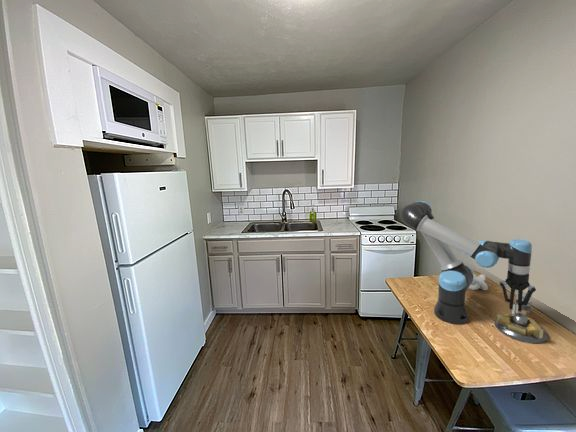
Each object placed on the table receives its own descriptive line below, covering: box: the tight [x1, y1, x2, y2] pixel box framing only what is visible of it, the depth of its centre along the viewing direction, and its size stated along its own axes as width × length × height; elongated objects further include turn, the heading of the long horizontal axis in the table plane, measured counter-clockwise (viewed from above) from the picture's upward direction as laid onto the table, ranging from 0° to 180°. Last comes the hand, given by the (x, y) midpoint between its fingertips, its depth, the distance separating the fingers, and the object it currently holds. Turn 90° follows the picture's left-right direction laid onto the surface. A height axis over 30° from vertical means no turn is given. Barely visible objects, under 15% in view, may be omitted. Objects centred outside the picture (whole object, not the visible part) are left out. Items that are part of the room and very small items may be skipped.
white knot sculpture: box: [468, 273, 489, 291], centre depth 151 cm, size 11×12×9 cm
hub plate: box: [493, 317, 548, 345], centre depth 114 cm, size 18×18×2 cm
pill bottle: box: [515, 291, 532, 315], centre depth 126 cm, size 6×6×10 cm
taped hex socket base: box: [495, 310, 544, 338], centre depth 114 cm, size 15×16×4 cm
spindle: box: [513, 312, 529, 328], centre depth 113 cm, size 5×5×8 cm
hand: (514, 315), depth 120 cm, fingers closed, pressing on taped hex socket base
